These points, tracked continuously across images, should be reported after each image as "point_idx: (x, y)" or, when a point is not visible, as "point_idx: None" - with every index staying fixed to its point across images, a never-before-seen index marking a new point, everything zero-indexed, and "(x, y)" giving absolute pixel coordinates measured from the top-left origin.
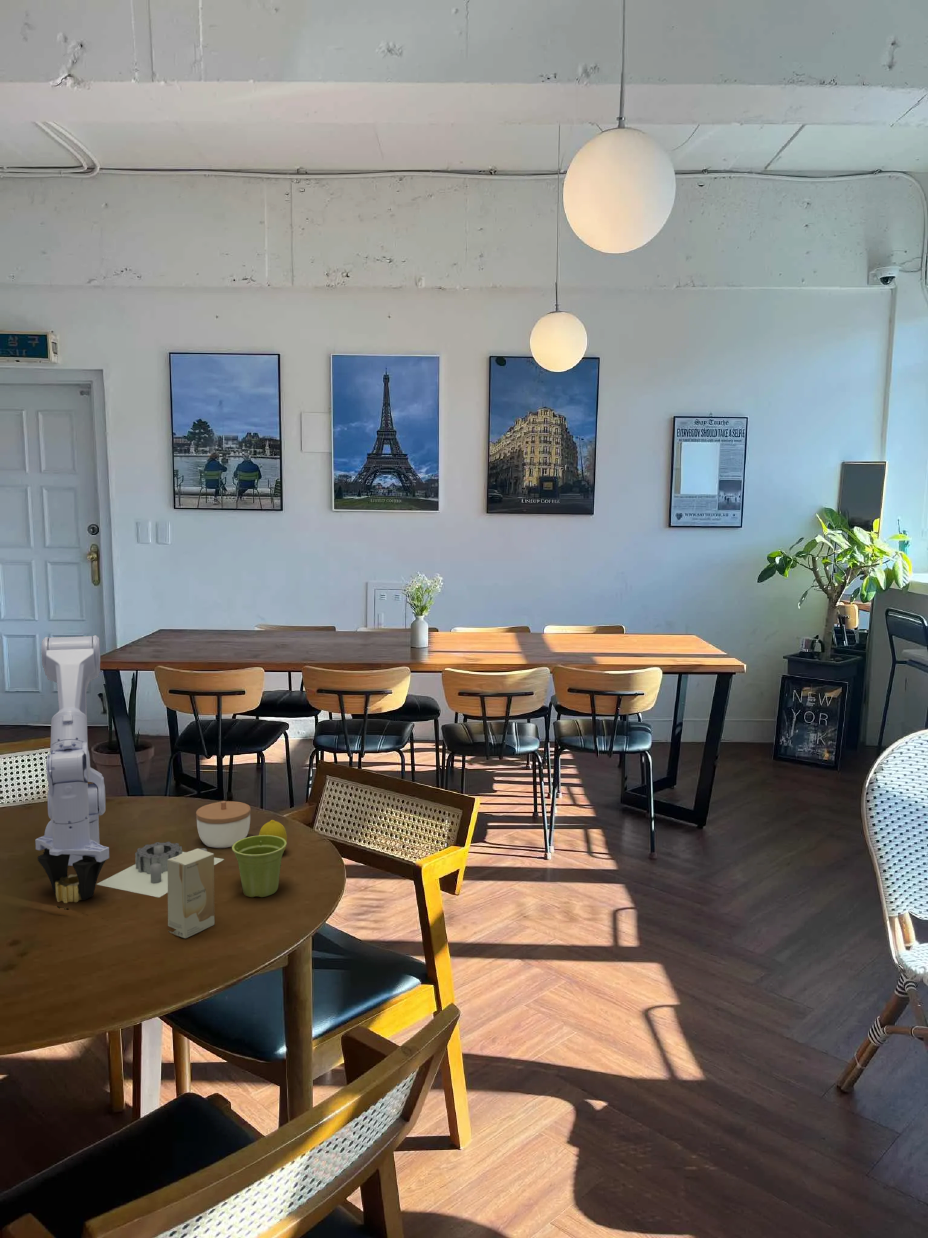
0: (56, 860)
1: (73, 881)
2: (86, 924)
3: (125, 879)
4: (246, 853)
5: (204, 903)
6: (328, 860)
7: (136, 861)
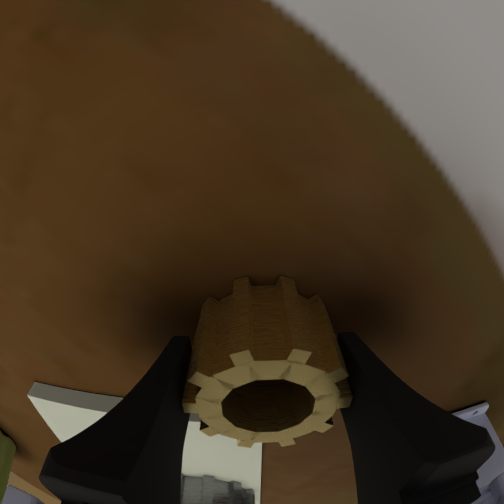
0: (386, 476)
1: (296, 406)
2: (55, 217)
3: (204, 453)
4: (2, 490)
5: None
6: (37, 487)
7: (232, 499)
